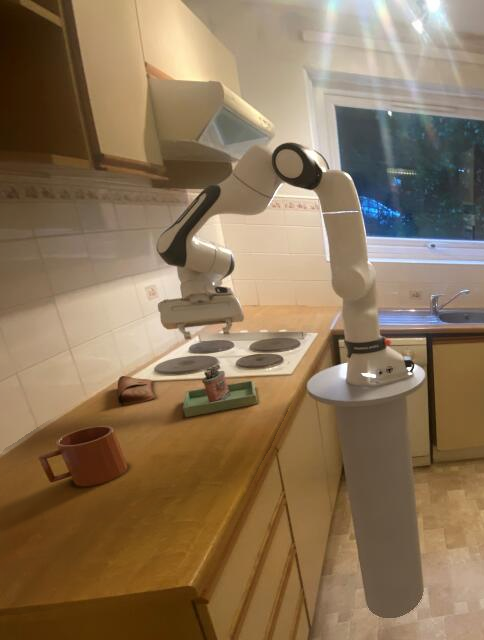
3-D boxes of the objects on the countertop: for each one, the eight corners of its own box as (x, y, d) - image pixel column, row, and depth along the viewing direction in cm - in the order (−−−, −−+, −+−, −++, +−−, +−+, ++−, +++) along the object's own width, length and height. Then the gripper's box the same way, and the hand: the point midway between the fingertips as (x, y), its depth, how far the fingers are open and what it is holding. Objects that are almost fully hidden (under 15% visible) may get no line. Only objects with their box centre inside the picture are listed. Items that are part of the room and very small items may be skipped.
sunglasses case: (157, 397, 128) (136, 381, 124) (135, 413, 126) (112, 398, 122) (153, 379, 141) (133, 365, 137) (132, 394, 139) (112, 380, 134)
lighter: (218, 405, 123) (209, 372, 119) (205, 405, 123) (196, 372, 119) (233, 393, 130) (225, 362, 127) (221, 393, 130) (213, 362, 126)
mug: (121, 459, 98) (107, 421, 95) (132, 472, 93) (117, 434, 90) (50, 482, 90) (31, 442, 86) (57, 499, 85) (37, 457, 81)
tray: (255, 388, 136) (253, 380, 135) (257, 403, 126) (255, 395, 125) (188, 399, 128) (186, 391, 127) (185, 417, 118) (182, 408, 117)
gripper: (153, 294, 122) (160, 335, 118) (237, 287, 132) (246, 326, 128) (160, 306, 127) (166, 347, 123) (240, 299, 137) (248, 336, 133)
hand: (207, 336), depth 126 cm, fingers open, 8 cm apart
